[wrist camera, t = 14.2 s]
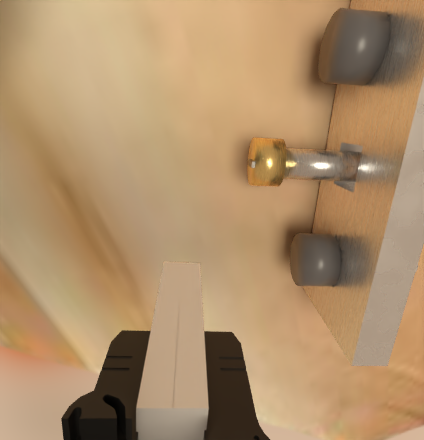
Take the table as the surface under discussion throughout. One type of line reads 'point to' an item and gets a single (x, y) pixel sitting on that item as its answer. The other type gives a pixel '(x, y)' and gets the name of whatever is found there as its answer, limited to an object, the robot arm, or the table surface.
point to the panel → (376, 193)
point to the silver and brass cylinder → (298, 163)
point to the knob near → (353, 46)
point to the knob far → (315, 259)
